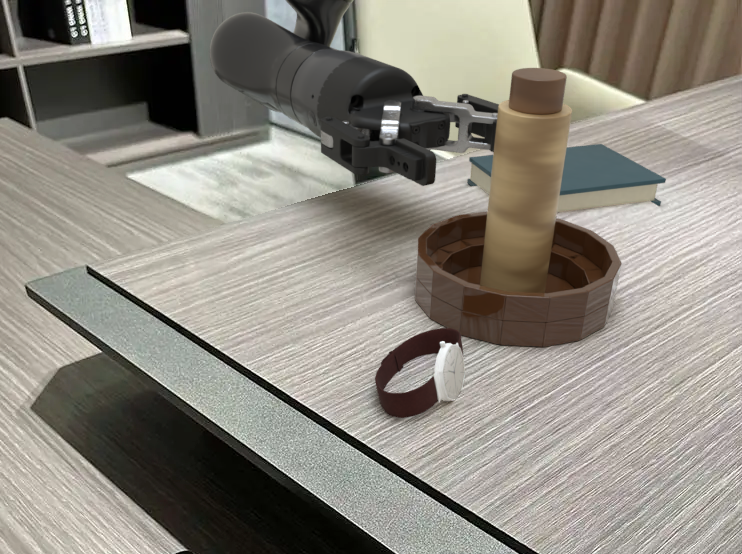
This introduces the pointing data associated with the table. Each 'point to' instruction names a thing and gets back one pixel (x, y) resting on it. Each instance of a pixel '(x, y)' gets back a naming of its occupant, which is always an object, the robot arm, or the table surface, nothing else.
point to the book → (589, 178)
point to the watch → (439, 387)
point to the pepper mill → (526, 181)
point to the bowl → (516, 309)
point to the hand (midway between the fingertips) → (482, 159)
